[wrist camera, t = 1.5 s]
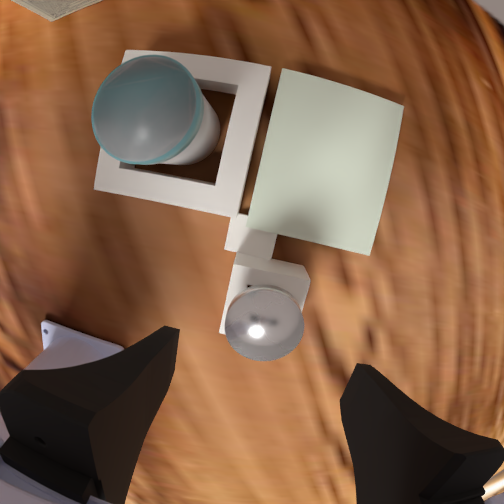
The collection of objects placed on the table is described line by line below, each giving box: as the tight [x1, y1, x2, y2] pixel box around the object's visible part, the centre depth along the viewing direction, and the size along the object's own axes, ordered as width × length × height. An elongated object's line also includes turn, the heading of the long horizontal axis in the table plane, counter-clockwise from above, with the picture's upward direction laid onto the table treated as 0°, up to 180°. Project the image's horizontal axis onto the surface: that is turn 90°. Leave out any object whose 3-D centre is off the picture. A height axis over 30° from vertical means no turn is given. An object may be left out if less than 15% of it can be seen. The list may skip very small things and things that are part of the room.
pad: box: [246, 68, 404, 256], centre depth 19 cm, size 10×8×1 cm
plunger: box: [225, 284, 304, 361], centre depth 18 cm, size 4×4×4 cm
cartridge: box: [91, 55, 220, 165], centre depth 15 cm, size 5×5×8 cm
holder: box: [94, 50, 311, 334], centre depth 18 cm, size 16×14×3 cm
